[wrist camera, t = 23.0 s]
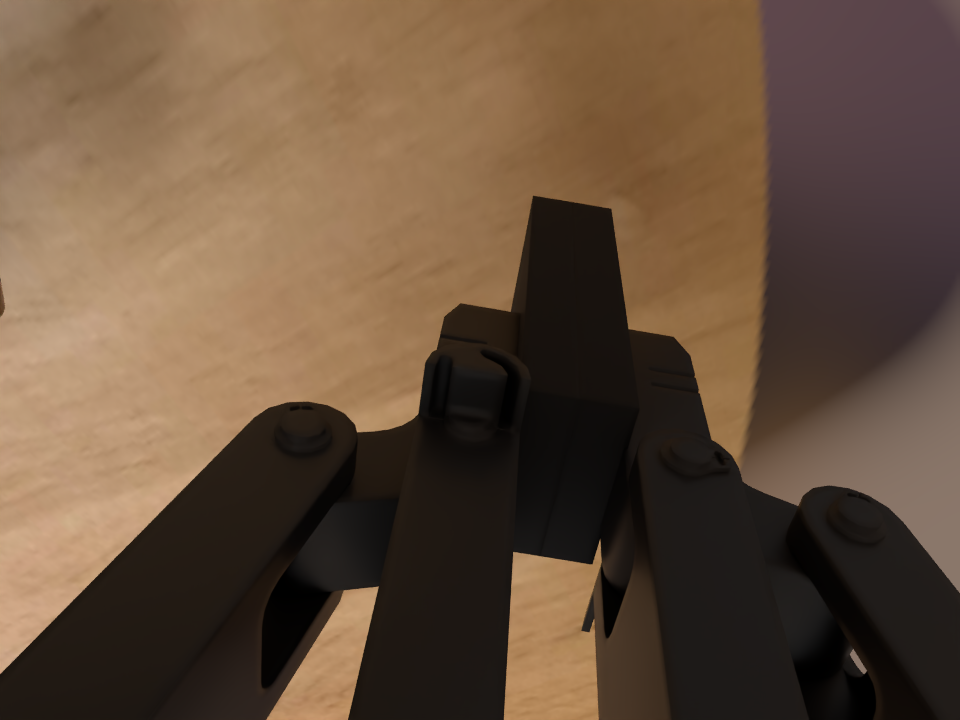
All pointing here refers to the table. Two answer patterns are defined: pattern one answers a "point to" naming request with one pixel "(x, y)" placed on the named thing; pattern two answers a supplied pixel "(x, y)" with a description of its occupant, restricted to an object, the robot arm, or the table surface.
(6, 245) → the table surface
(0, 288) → the drawer
